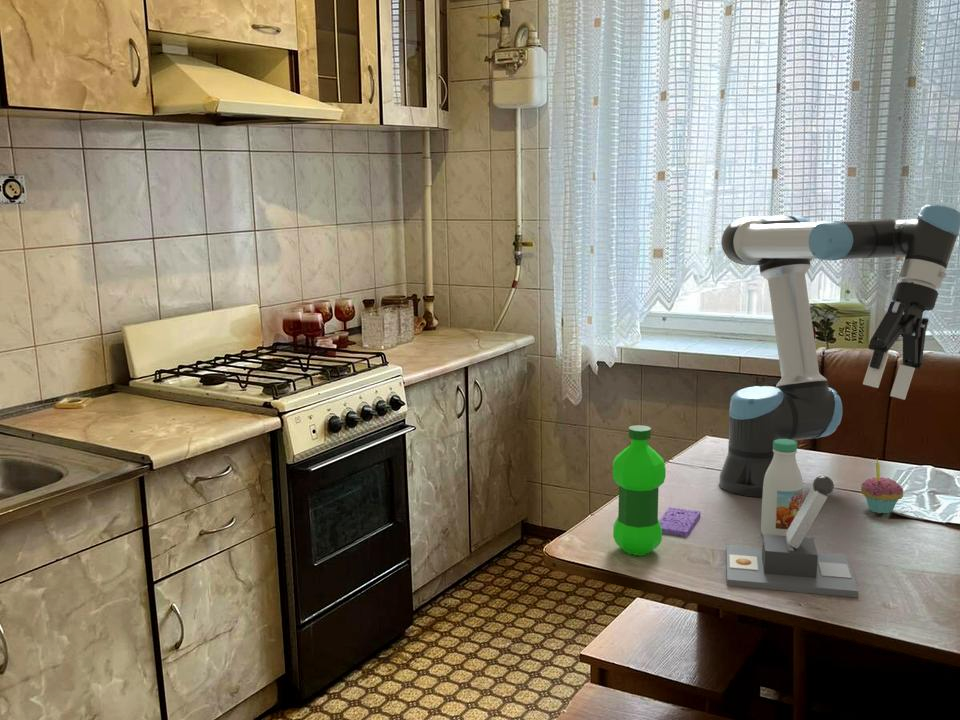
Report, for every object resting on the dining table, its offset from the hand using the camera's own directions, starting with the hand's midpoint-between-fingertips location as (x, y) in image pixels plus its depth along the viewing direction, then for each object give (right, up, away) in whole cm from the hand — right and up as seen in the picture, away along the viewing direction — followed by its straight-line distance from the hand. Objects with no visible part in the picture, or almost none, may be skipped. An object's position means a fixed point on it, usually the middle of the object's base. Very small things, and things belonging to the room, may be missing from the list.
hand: (884, 392), depth 175 cm
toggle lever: (-21, -28, -7) cm, 35 cm away
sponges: (-36, -29, +19) cm, 50 cm away
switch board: (-20, -33, -6) cm, 40 cm away
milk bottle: (-16, -30, +12) cm, 36 cm away
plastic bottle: (-47, -32, +5) cm, 56 cm away
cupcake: (+10, -27, +25) cm, 38 cm away
